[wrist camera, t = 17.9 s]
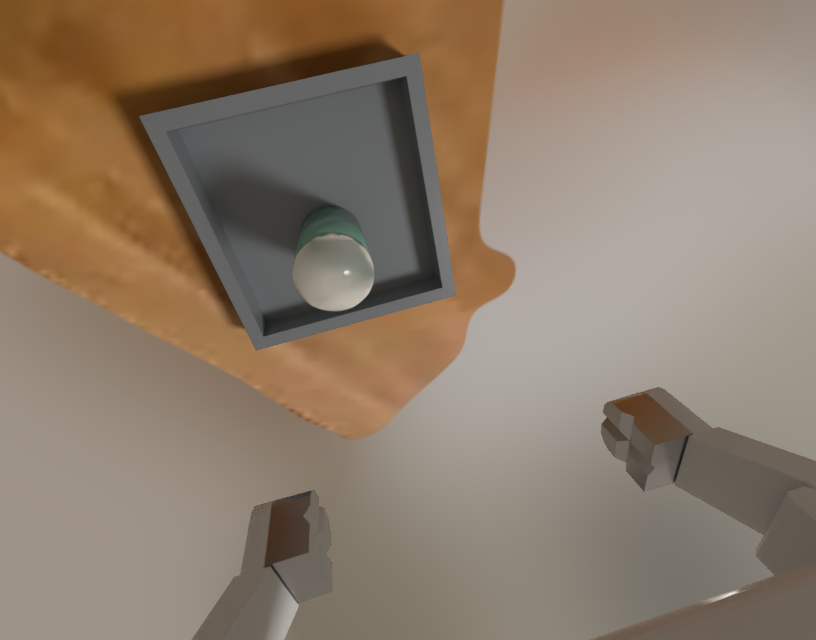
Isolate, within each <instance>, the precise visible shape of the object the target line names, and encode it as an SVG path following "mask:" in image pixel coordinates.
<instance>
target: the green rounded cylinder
mask: <svg viewBox="0 0 816 640" xmlns="http://www.w3.org/2000/svg"><path fill="white" fill-rule="evenodd" d="M292 277H293V282H294V285H295V288H296V290H297V292H298V293H299V295H300V296H301V297H302V298H303V299H304V300H305V301H306V302H307V303H309V304H310V305H312V306H314V307H316V308H318V309H321V310H325V311H343V310H347V309H350V308H352V307H354V306H356V305H357V304H359V303H360V302H361V301H363V300H364V299H365V297H366V296H367V295H368V294H369V292H370V290H371V288H372V285H373V282H374V267H373V263H372V260H371V257H370V254H369V251H368V247H367V244H366V241H365V238H364V235H363V232H362V229H361V226H360V224H359V222H358V220H357V219H356V217H355V216H354V215H353V214H352V213H351V212H349V211H348V210H346V209H344V208H342V207H339V206H333V205H327V206H322V207H319V208H317V209H315V210H313V211H312V212H311V213H309V214H308V216H307V217H306V218H305V220H304V222H303V224H302V227H301V231H300V236H299V240H298V245H297V249H296V254H295V258H294V263H293V268H292Z"/></svg>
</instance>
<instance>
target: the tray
mask: <svg viewBox="0 0 816 640" xmlns="http://www.w3.org/2000/svg"><path fill="white" fill-rule="evenodd" d="M139 117H140V119H141V121H142V123H143V125H144V127H145V129H146V131H147V133H148V135H149V137H150V139H151V141H152V143H153V145H154V147H155V149H156V151H157V153H158V155H159V157H160V159H161V161H162V163H163V165H164V167H165V169H166V171H167V173H168V175H169V177H170V179H171V181H172V183H173V185H174V187H175V189H176V191H177V193H178V195H179V197H180V199H181V201H182V203H183V205H184V207H185V209H186V211H187V213H188V215H189V217H190V220H191V222H192V224H193V226H194V228H195V230H196V232H197V234H198V236H199V238H200V240H201V242H202V244H203V246H204V248H205V250H206V252H207V254H208V256H209V258H210V260H211V262H212V264H213V266H214V268H215V270H216V272H217V274H218V276H219V278H220V280H221V282H222V284H223V286H224V288H225V290H226V292H227V294H228V296H229V298H230V300H231V302H232V304H233V306H234V308H235V310H236V312H237V314H238V316H239V318H240V320H241V322H242V324H243V326H244V328H245V330H246V332H247V334H248V336H249V338H250V340H251V342H252V344H253V346H254V348H255V350H259V349H263V348H267V347H270V346H274V345H278V344H281V343H285V342H288V341H292V340H296V339H299V338H303V337H307V336H310V335H314V334H317V333H321V332H325V331H328V330H332V329H336V328H339V327H343V326H346V325H350V324H354V323H357V322H361V321H364V320H368V319H372V318H375V317H379V316H383V315H386V314H390V313H393V312H397V311H401V310H404V309H408V308H412V307H415V306H419V305H422V304H426V303H430V302H433V301H437V300H441V299H444V298H448V297H451V296H455V295H456V292H455V286H454V279H453V273H452V266H451V259H450V253H449V246H448V240H447V233H446V227H445V220H444V213H443V207H442V200H441V194H440V187H439V181H438V174H437V167H436V161H435V154H434V148H433V141H432V135H431V128H430V121H429V115H428V108H427V102H426V95H425V89H424V82H423V75H422V69H421V62H420V56H419V53H416V54H412V55H407V56H403V57H399V58H394V59H390V60H385V61H381V62H376V63H372V64H368V65H363V66H359V67H354V68H350V69H345V70H341V71H337V72H332V73H328V74H323V75H319V76H314V77H310V78H306V79H301V80H297V81H292V82H288V83H283V84H279V85H275V86H270V87H266V88H261V89H257V90H253V91H248V92H244V93H239V94H235V95H230V96H226V97H222V98H217V99H213V100H208V101H204V102H199V103H195V104H191V105H186V106H182V107H177V108H173V109H168V110H164V111H160V112H155V113H151V114H146V115H142V116H139ZM327 205H333V206H339V207H342V208H344V209H346V210H348V211H349V212H351V213H352V214H353V215H354V216H355V217H356V219H357V220H358V222H359V224H360V226H361V229H362V232H363V235H364V238H365V241H366V244H367V247H368V251H369V254H370V257H371V260H372V263H373V267H374V282H373V285H372V288H371V290H370V292H369V294H368V295H367V296H366V297H365V299H364V300H363V301H361V302H360V303H359V304H357V305H356V306H354V307H352V308H350V309H347V310H343V311H325V310H321V309H318V308H316V307H314V306H312V305H310V304H309V303H307V302H306V301H305V300H304V299H303V298H302V297H301V296H300V295H299V293H298V292H297V290H296V288H295V285H294V282H293V277H292V268H293V263H294V258H295V254H296V249H297V245H298V240H299V236H300V231H301V227H302V224H303V222H304V220H305V218H306V217H307V216H308V214H309V213H311V212H312V211H313V210H315V209H317V208H319V207H322V206H327Z"/></svg>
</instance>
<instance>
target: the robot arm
mask: <svg viewBox="0 0 816 640" xmlns="http://www.w3.org/2000/svg"><path fill="white" fill-rule="evenodd" d="M603 413H604V414H605V415H606V416H607V418H606V419H605V420H604V422H603V423H602V426H601V434H602V437H603V440H604V443H605V444H606V446H607V448H608V450H609V451H610V452H611V453H612V454H613V456H614V457H616V458H618V459H620V460H622V461H624V462H626V471H627V472H628V474H629V475H630V476H631V477H632V478H633V479H634V481H635V482H636V483H637V484H638V485H639V486H640V488H641V489H642V490H643V491H644V492H645V491H648V490H652V489H656V488H659V487H663V486H666V485H669V484H673V483H675V485H676V486H678V487H679V488H681V489H683V490H684V491H686V492H688V493H690V494H692V495H693V496H695V497H697V498H699V499H701V500H702V501H704V502H706V503H708V504H709V505H711V506H713V507H715V508H716V509H718V510H720V511H722V512H724V513H725V514H727V515H729V516H731V517H733V518H734V519H736V520H738V521H740V522H741V523H743V524H745V525H747V526H748V527H750V528H752V529H754V530H756V531H757V532H759V533H761V534H763V535H764V536H763V537H762V539H761V541H760V543H759V545H758V546H757V548H756V556H757V557H758V558H759V560H760V561H761V562H762V563H763V564H764V565H765V566H766V567H767V568H768V569H769V570H770V571H771V572H772V573H773V574H774V576H772V577H769V578H766V579H763V580H760V581H757V582H754V583H751V584H749V585H746V586H743V587H740V588H737V589H734V590H732V591H729V592H726V593H723V594H720V595H717V596H714V597H711V598H709V599H706V600H703V601H700V602H697V603H694V604H692V605H689V606H686V607H683V608H680V609H677V610H674V611H671V612H669V613H666V614H663V615H660V616H657V617H655V618H652V619H649V620H646V621H643V622H640V623H637V624H634V625H631V626H629V627H626V628H623V629H620V630H617V631H614V632H612V633H609V634H606V635H603V636H600V637H597V638H594V639H591V640H816V461H814V460H811V459H808V458H806V457H803V456H800V455H797V454H794V453H791V452H788V451H785V450H783V449H779V448H777V447H774V446H771V445H768V444H765V443H762V442H760V441H756V440H754V439H751V438H748V437H745V436H742V435H739V434H737V433H733V432H730V431H728V430H725V429H722V428H719V427H717V428H712V427H710V426H709V425H708V424H707V423H705V422H704V421H703V420H702V419H700V418H699V417H698V416H696V415H695V414H694V413H693V412H692V411H691V410H689V409H688V408H687V407H686V406H684V405H683V404H682V403H681V402H679V401H678V400H677V399H676V398H674V397H673V396H672V395H671V394H669V393H668V392H667V391H666V390H664V389H662V388H659V387H657V388H653V389H650V390H646V391H643V392H640V393H635V394H632V395H629V396H626V397H622V398H619V399H616V400H613V401H610V402H607V403H606V404H605V405H604V409H603ZM330 547H331V531H330V524H329V519H328V516H327V513H326V511H325V509H324V508H323V507H321V506H319V497H318V495H317V494H316V492H315V490H312V491H309V492H305V493H301V494H297V495H294V496H290V497H286V498H282V499H279V500H275V501H272V502H268V503H265V504H261V505H258V506H255V507H254V509H253V511H252V513H251V517H250V522H249V528H248V535H247V540H246V545H245V551H244V556H243V562H242V568H241V574H240V575H239V576H236V577H234V578H233V579H232V581H231V582H230V584H229V586H228V587H227V588H226V590H225V591H224V593H223V594H222V596H221V597H220V599H219V600H218V602H217V603H216V605H215V606H214V608H213V609H212V611H211V612H210V613H209V615H208V616H207V618H206V619H205V621H204V622H203V624H202V625H201V627H200V628H199V630H198V631H197V633H196V634H195V636H194V637H193V639H192V640H284V638H285V636H286V634H287V631H288V629H289V627H290V625H291V623H292V620H293V618H294V616H295V613H296V611H297V609H298V606H299V605H298V603H301V602H304V601H307V600H310V599H312V598H315V597H318V596H321V595H324V594H326V593H329V592H332V562H331V561H330V559H329V557H328V555H327V552H328V550H329V548H330Z"/></svg>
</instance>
